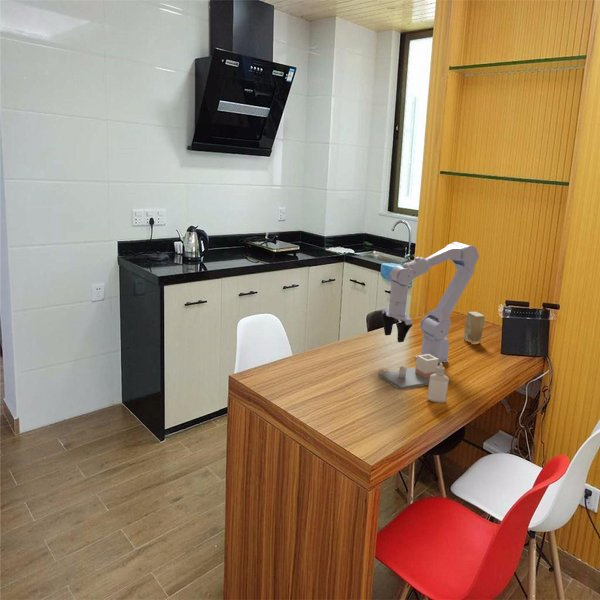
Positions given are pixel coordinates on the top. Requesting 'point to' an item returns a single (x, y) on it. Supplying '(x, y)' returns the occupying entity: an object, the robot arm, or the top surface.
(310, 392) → the top surface
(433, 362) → the sleeve
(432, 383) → the eye dropper bottle
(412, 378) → the pin board
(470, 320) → the skincare box
